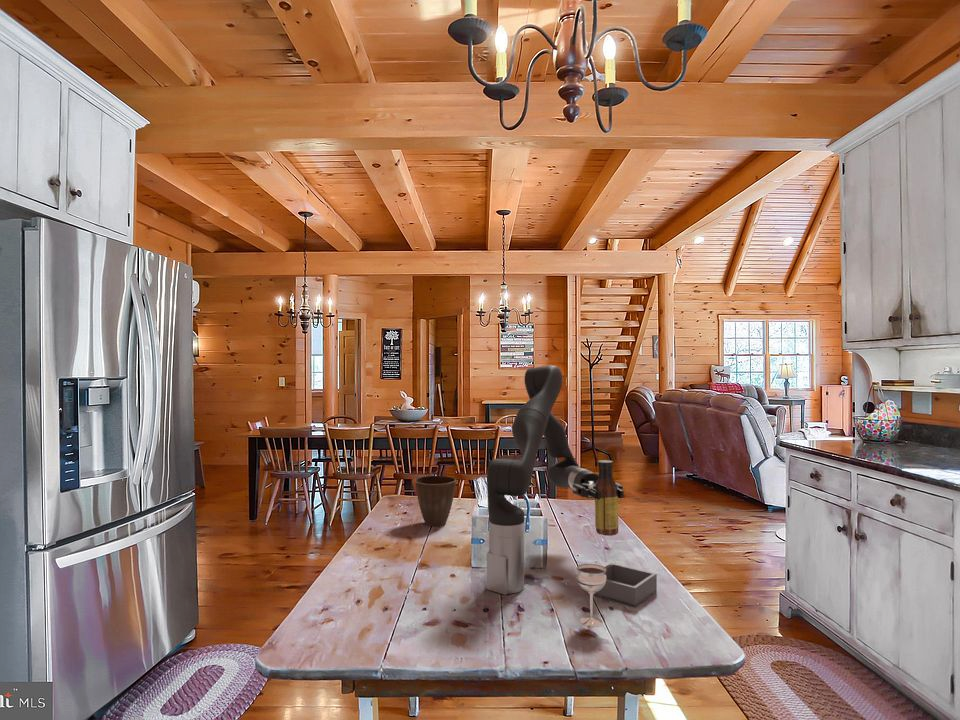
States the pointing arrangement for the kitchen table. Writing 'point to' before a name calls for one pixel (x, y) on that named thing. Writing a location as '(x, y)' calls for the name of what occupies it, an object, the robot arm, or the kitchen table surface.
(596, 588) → the wineglass
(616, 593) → the grey shallow tray
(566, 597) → the kitchen table surface
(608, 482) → the sauce bottle
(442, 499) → the plant pot
